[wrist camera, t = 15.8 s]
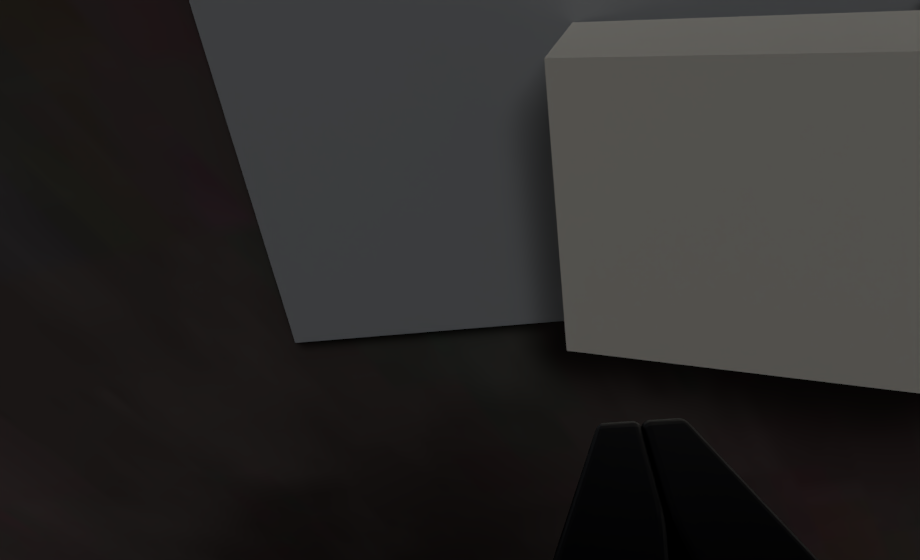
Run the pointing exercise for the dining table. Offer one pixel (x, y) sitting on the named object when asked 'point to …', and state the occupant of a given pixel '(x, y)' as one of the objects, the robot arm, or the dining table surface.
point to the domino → (742, 193)
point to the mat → (412, 149)
